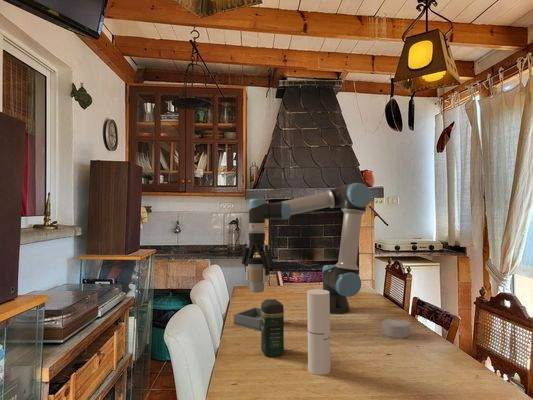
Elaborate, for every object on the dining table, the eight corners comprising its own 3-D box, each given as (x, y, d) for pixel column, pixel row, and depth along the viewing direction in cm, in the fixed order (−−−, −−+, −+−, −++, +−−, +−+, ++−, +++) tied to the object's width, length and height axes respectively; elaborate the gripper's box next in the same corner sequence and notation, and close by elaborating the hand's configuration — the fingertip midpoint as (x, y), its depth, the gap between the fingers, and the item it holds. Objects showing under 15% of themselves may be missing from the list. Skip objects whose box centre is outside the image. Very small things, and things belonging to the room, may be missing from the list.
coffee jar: (286, 356, 129) (285, 303, 129) (264, 358, 127) (264, 304, 128) (280, 346, 138) (279, 297, 139) (259, 348, 137) (259, 298, 137)
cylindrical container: (306, 365, 121) (305, 289, 121) (327, 364, 121) (326, 289, 122) (310, 375, 114) (309, 294, 114) (333, 374, 114) (332, 294, 115)
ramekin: (410, 332, 153) (410, 319, 154) (412, 341, 143) (411, 327, 143) (382, 329, 157) (382, 317, 157) (382, 338, 146) (381, 324, 147)
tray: (280, 322, 168) (280, 312, 168) (259, 330, 156) (259, 320, 156) (254, 316, 177) (254, 307, 177) (233, 324, 165) (233, 314, 166)
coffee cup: (264, 294, 162) (264, 260, 162) (244, 293, 164) (244, 259, 164) (269, 289, 171) (269, 257, 171) (249, 288, 173) (249, 256, 173)
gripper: (233, 231, 172) (233, 279, 171) (271, 233, 158) (271, 285, 158) (244, 231, 178) (244, 277, 177) (281, 232, 164) (281, 282, 163)
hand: (256, 281), depth 167 cm, fingers closed on coffee cup, 9 cm apart
